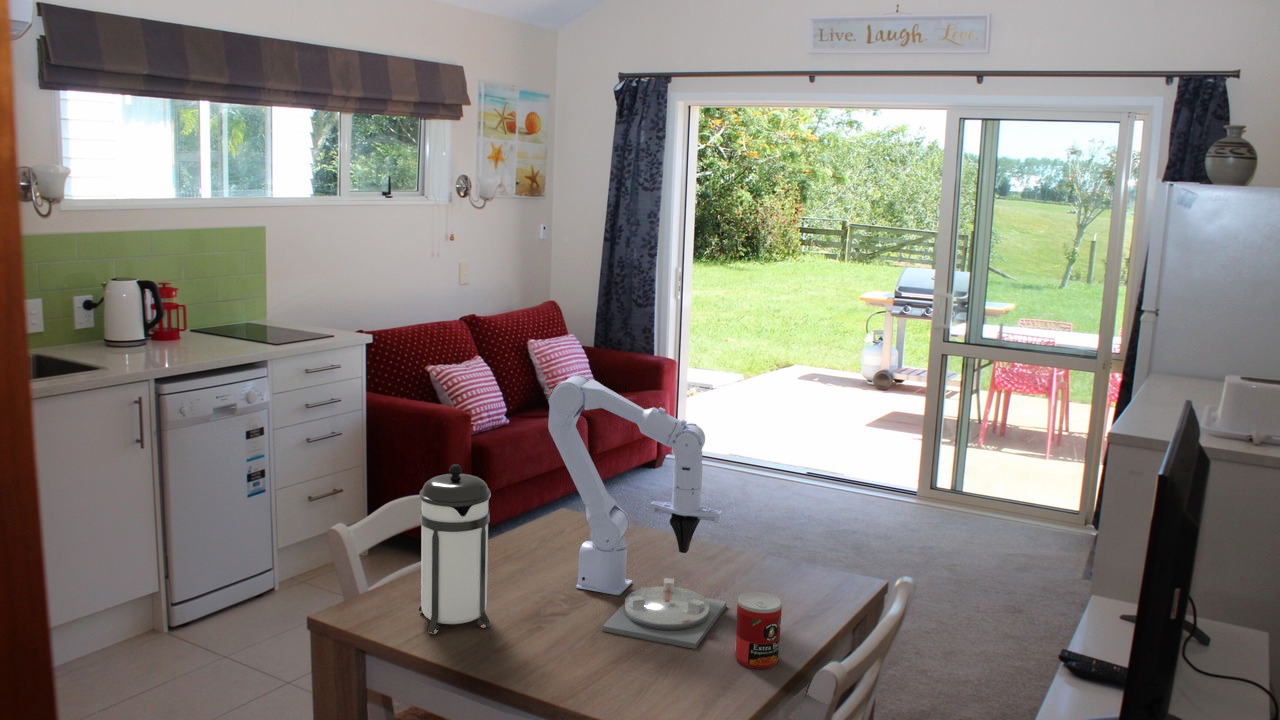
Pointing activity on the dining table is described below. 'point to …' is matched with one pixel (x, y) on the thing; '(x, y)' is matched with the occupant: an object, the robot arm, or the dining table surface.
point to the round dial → (666, 607)
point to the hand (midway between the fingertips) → (683, 551)
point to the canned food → (758, 630)
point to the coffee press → (454, 549)
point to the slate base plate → (675, 637)
